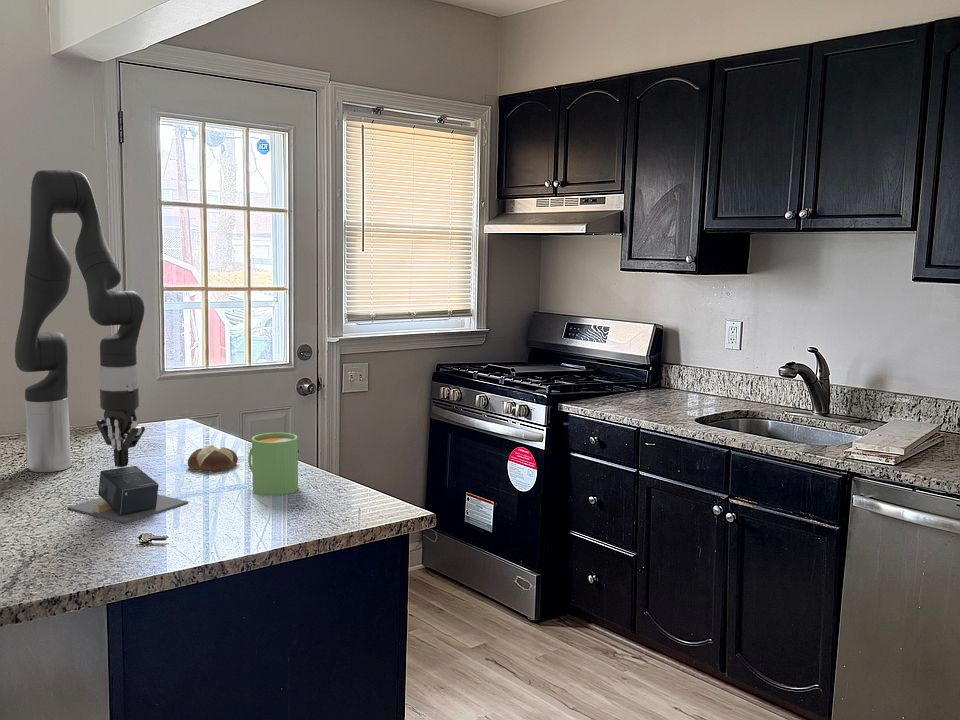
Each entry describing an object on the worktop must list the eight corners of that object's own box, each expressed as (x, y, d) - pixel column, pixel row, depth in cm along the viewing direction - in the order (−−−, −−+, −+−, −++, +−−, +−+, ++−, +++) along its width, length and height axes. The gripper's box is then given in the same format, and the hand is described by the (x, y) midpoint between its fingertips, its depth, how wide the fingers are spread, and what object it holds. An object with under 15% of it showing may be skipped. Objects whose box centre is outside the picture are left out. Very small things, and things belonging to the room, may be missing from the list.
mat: (67, 508, 180) (66, 500, 180) (131, 490, 194) (131, 482, 194) (125, 523, 171) (124, 514, 171) (188, 503, 185) (187, 494, 185)
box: (97, 495, 181) (119, 515, 174) (99, 469, 180) (122, 489, 173) (134, 489, 187) (156, 508, 180) (136, 465, 186) (159, 483, 179)
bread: (180, 470, 212) (179, 450, 212) (212, 459, 222) (212, 440, 222) (215, 475, 208) (215, 455, 207) (247, 465, 218) (246, 445, 217)
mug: (308, 486, 199) (307, 435, 198) (279, 498, 190) (278, 444, 188) (264, 479, 205) (263, 429, 203) (234, 490, 195) (233, 438, 194)
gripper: (82, 384, 181) (85, 464, 184) (125, 392, 175) (127, 475, 177) (113, 380, 188) (115, 457, 190) (155, 387, 181) (157, 467, 184)
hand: (121, 466), depth 184 cm, fingers closed
